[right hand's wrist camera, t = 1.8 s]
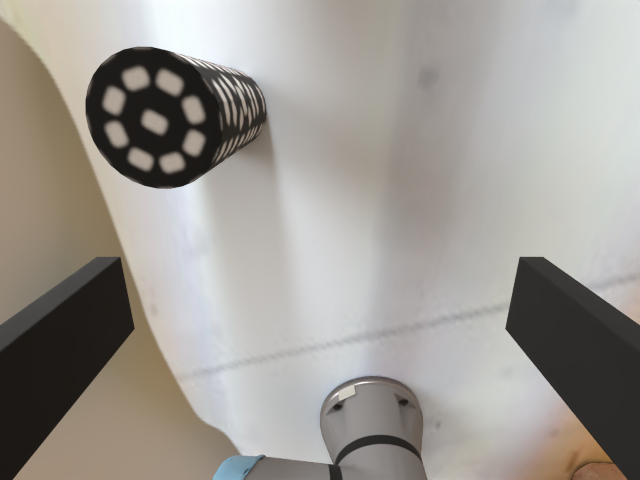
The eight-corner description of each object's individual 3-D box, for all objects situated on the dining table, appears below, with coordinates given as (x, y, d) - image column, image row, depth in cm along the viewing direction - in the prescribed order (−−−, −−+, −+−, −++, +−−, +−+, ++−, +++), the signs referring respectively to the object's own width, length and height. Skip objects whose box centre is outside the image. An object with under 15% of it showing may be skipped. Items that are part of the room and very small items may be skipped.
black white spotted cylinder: (279, 93, 41) (244, 93, 23) (247, 160, 44) (192, 210, 25) (208, 52, 40) (109, 16, 21) (179, 124, 42) (69, 149, 24)
